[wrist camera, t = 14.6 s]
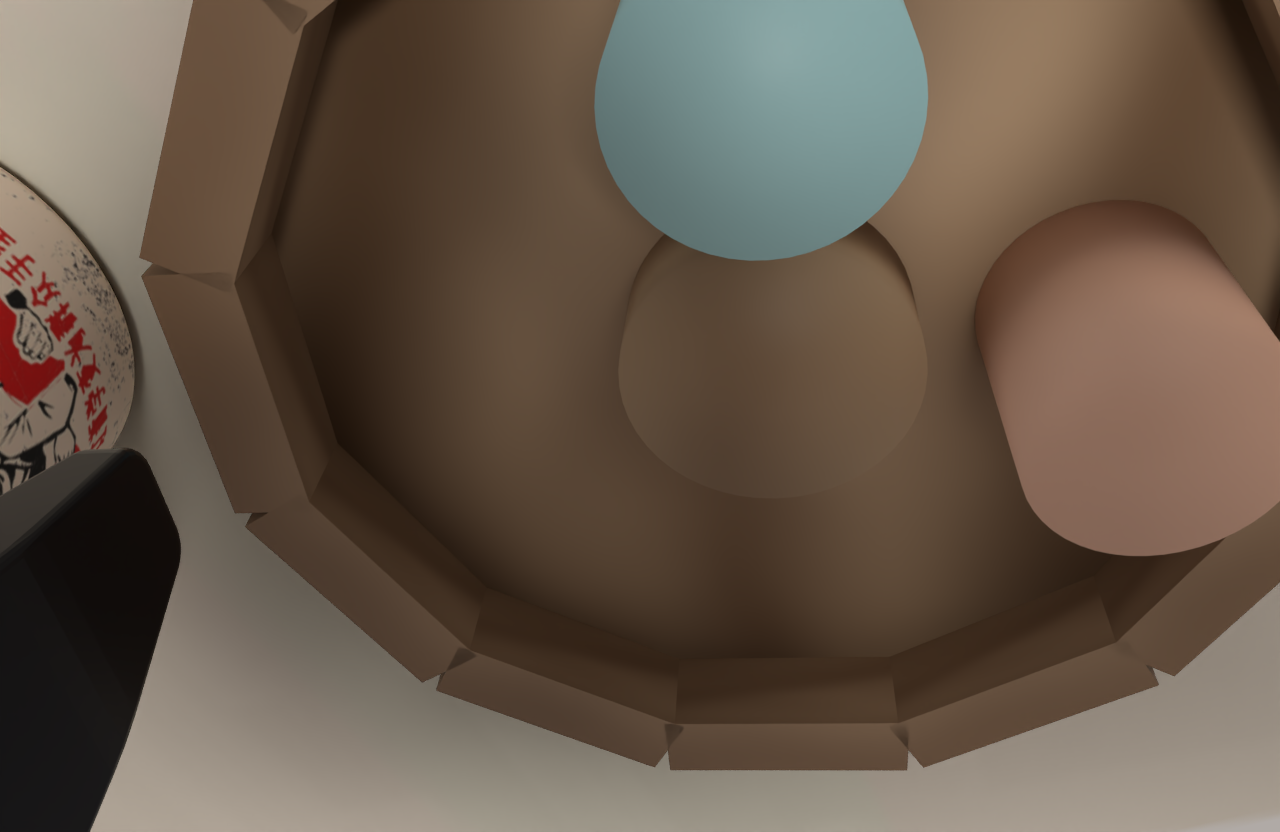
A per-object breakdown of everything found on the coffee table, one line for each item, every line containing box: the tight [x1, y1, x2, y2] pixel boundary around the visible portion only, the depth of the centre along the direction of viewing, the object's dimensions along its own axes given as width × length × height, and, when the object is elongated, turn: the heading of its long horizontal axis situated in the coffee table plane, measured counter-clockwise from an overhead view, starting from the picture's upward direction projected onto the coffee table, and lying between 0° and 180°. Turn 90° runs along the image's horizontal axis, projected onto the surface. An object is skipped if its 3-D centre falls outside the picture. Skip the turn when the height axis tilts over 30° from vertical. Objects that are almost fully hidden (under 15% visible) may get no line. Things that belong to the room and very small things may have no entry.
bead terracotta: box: [975, 200, 1280, 556], centre depth 18 cm, size 4×4×4 cm
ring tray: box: [139, 0, 1280, 770], centre depth 20 cm, size 20×20×3 cm
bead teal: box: [594, 0, 928, 261], centre depth 16 cm, size 4×4×4 cm
